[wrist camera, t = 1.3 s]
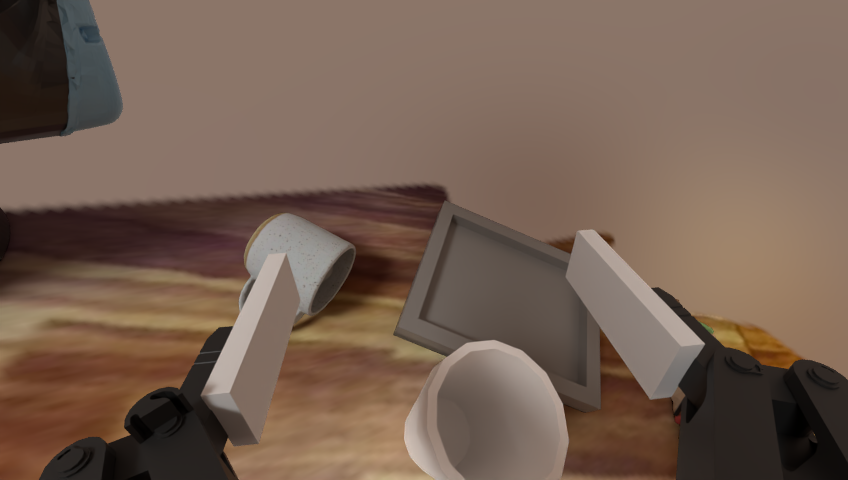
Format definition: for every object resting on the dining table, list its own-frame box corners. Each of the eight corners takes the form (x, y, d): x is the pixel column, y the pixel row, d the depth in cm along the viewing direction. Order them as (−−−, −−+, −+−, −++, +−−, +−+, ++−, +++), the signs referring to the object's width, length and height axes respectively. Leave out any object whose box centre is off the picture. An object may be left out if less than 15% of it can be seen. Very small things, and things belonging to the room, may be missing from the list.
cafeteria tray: (393, 334, 35) (398, 326, 33) (438, 211, 46) (444, 200, 44) (584, 412, 36) (600, 409, 34) (586, 274, 47) (598, 266, 45)
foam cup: (373, 399, 32) (404, 366, 21) (458, 365, 36) (519, 322, 25) (410, 519, 28) (470, 551, 17) (501, 466, 32) (595, 465, 21)
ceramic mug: (292, 233, 39) (287, 190, 32) (354, 270, 38) (361, 233, 32) (219, 310, 33) (195, 275, 26) (292, 354, 32) (286, 329, 26)
